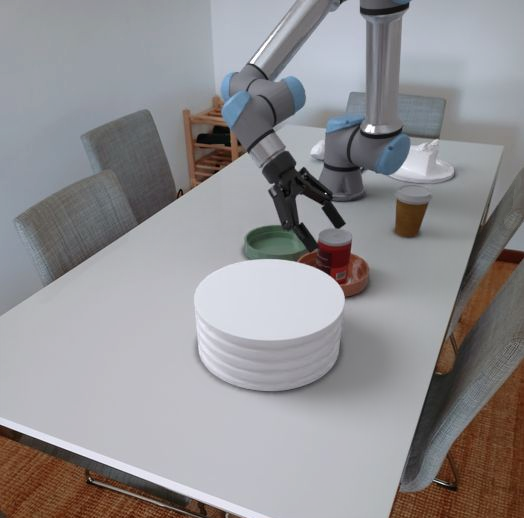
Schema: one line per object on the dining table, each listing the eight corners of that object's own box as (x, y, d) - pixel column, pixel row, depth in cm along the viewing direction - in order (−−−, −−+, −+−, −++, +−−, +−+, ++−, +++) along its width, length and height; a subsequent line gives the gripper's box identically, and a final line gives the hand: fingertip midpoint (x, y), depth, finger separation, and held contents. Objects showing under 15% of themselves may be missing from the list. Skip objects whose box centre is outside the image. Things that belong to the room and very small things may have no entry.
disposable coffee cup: (424, 241, 138) (434, 198, 130) (388, 238, 139) (396, 195, 132) (423, 226, 145) (432, 185, 137) (389, 223, 146) (396, 182, 139)
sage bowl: (274, 230, 142) (274, 219, 140) (323, 250, 133) (324, 238, 131) (230, 251, 133) (230, 239, 130) (280, 274, 123) (280, 261, 121)
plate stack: (362, 374, 94) (371, 324, 87) (215, 404, 88) (211, 353, 81) (309, 297, 115) (312, 251, 108) (187, 316, 109) (182, 269, 102)
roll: (307, 163, 187) (308, 147, 183) (316, 153, 195) (317, 138, 192) (322, 165, 185) (324, 149, 181) (331, 155, 194) (332, 140, 190)
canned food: (350, 272, 124) (355, 230, 117) (343, 289, 118) (348, 245, 111) (319, 267, 126) (323, 225, 119) (311, 283, 120) (314, 240, 113)
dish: (461, 167, 184) (469, 134, 177) (440, 188, 168) (448, 153, 161) (396, 155, 195) (402, 123, 188) (371, 174, 178) (375, 140, 171)
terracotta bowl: (324, 255, 131) (325, 243, 129) (381, 278, 122) (383, 265, 120) (280, 280, 121) (281, 267, 119) (339, 307, 112) (340, 294, 110)
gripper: (290, 154, 124) (340, 226, 127) (232, 186, 108) (291, 268, 111) (311, 135, 119) (362, 210, 122) (252, 166, 102) (314, 252, 105)
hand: (328, 238), depth 116 cm, fingers open, 13 cm apart
